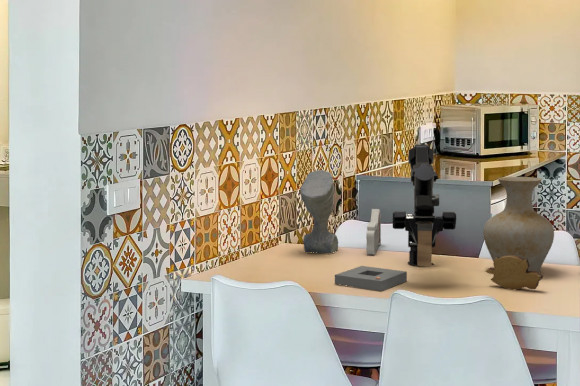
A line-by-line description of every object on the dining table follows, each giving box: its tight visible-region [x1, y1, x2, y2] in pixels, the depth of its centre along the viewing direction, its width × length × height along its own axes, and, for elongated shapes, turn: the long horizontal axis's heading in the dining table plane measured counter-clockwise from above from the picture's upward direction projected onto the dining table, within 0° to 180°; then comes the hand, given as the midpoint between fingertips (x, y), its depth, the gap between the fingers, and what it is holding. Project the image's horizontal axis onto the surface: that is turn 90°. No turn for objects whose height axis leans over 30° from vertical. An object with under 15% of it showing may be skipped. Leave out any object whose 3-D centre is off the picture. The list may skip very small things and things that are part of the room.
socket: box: [334, 265, 408, 292], centre depth 256 cm, size 16×16×3 cm
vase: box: [482, 176, 555, 274], centre depth 268 cm, size 22×22×30 cm
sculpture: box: [300, 169, 339, 254], centre depth 304 cm, size 12×23×30 cm, turn 170°
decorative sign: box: [365, 208, 382, 256], centre depth 309 cm, size 23×3×15 cm, turn 168°
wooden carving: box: [485, 255, 544, 290], centre depth 246 cm, size 16×5×10 cm, turn 61°
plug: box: [417, 222, 433, 267], centre depth 248 cm, size 4×4×12 cm
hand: (424, 243), depth 246 cm, fingers closed on plug, 4 cm apart
